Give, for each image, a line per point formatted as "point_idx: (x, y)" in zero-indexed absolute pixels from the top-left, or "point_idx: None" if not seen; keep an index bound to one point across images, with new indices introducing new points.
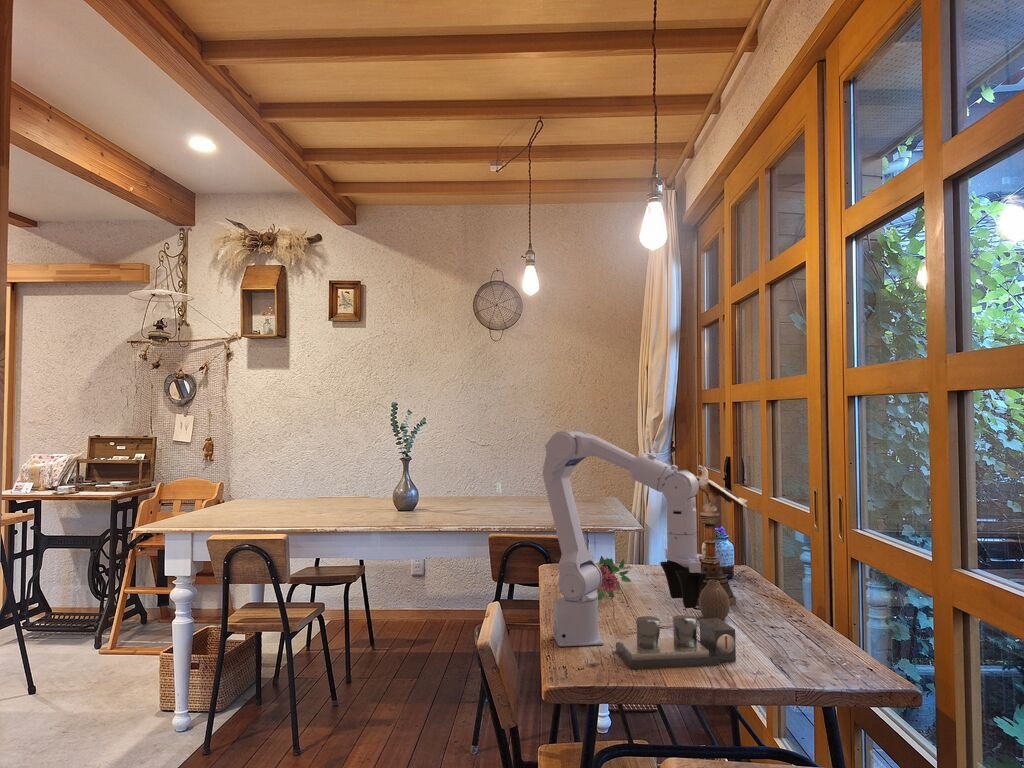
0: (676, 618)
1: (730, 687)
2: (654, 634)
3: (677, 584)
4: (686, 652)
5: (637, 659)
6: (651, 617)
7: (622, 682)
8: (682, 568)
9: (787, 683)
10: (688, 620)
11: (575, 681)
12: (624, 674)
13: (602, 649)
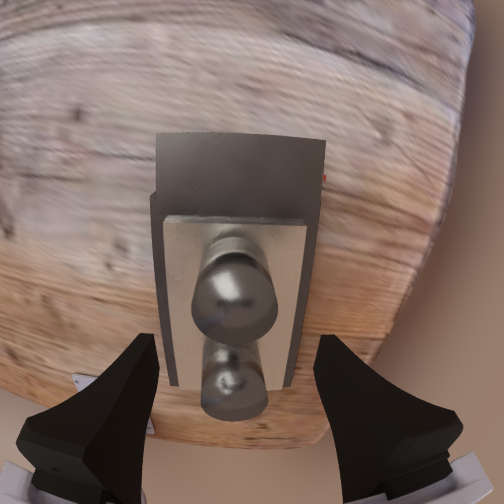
0: (236, 337)
1: (429, 236)
2: (262, 372)
3: (139, 394)
4: (298, 286)
5: (289, 376)
6: (215, 393)
7: None
8: (112, 449)
9: (443, 113)
10: (273, 311)
11: (312, 431)
12: (308, 385)
13: (163, 389)
